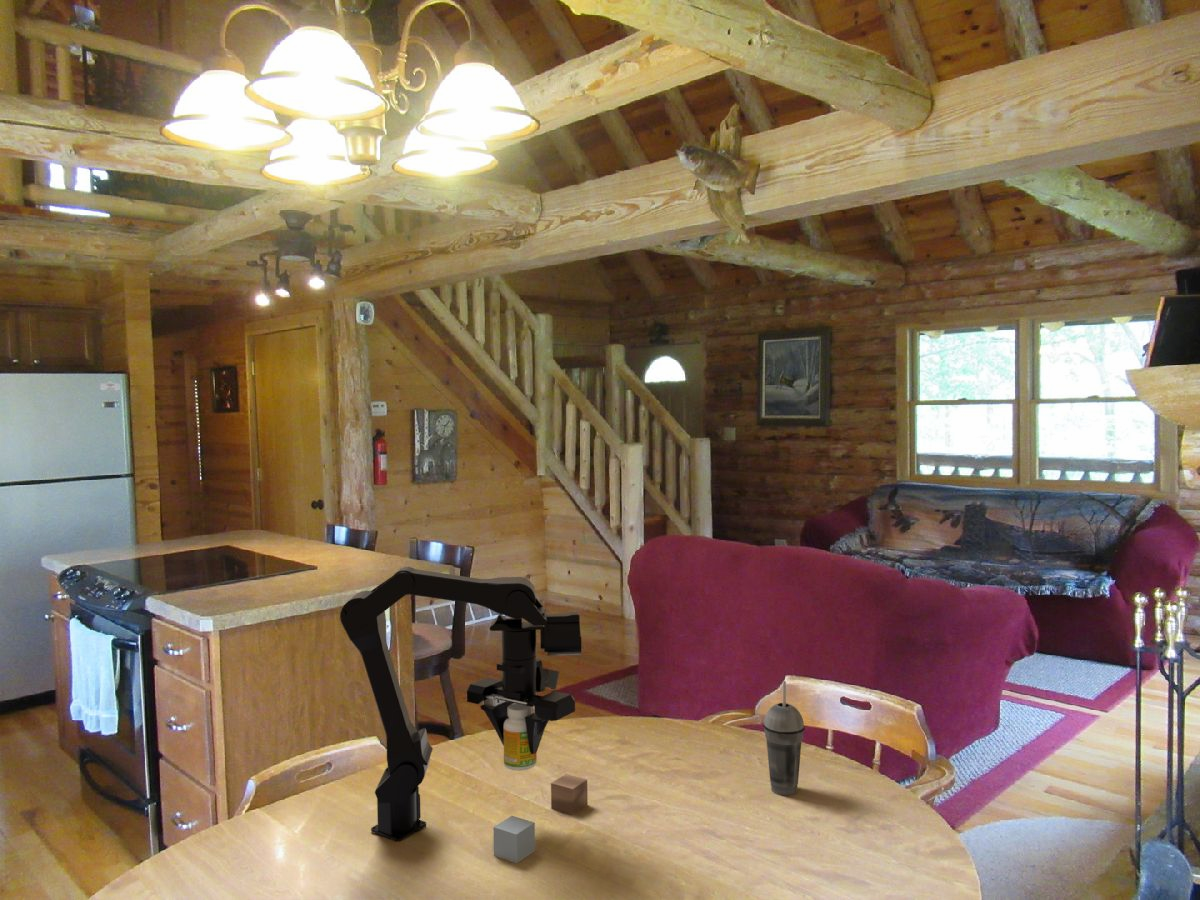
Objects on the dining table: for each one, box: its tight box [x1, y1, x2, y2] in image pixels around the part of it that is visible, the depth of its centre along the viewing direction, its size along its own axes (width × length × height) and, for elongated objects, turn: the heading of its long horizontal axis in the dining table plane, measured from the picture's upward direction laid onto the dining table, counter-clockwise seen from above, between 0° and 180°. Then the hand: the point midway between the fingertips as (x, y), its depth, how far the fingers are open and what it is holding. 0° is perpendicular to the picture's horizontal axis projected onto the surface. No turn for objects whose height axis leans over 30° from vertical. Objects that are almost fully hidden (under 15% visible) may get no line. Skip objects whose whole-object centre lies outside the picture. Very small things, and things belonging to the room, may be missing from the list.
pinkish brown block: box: [550, 773, 589, 816], centre depth 147 cm, size 4×4×4 cm
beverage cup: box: [762, 680, 806, 797], centre depth 153 cm, size 7×7×20 cm
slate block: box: [492, 815, 536, 864], centre depth 132 cm, size 4×4×4 cm
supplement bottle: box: [503, 703, 538, 772], centre depth 141 cm, size 5×5×10 cm
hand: (520, 749), depth 141 cm, fingers closed on supplement bottle, 5 cm apart
